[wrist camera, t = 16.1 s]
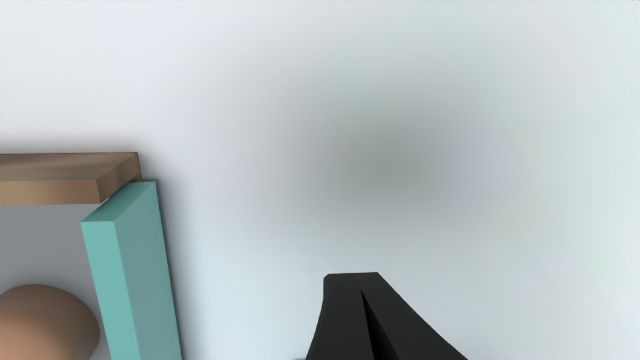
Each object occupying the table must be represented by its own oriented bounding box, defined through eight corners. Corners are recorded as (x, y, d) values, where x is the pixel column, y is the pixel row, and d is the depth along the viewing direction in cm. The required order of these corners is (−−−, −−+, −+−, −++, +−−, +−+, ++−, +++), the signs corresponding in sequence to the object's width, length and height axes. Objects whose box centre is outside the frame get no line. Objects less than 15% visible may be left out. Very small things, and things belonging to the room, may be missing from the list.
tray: (155, 181, 18) (113, 221, 14) (191, 423, 23) (169, 504, 19) (-177, 187, 17) (-329, 232, 13) (-60, 438, 22) (-141, 527, 18)
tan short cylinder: (91, 284, 19) (40, 343, 15) (106, 368, 20) (63, 440, 17) (-24, 283, 18) (-107, 344, 14) (1, 369, 20) (-67, 444, 16)
